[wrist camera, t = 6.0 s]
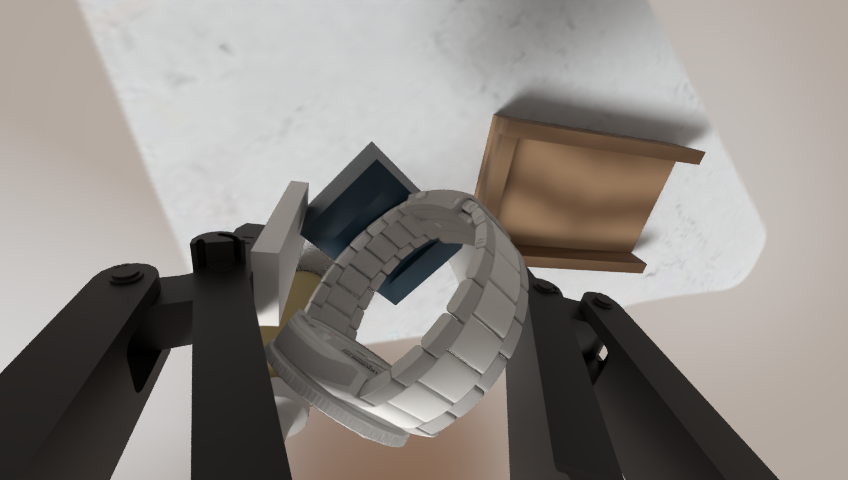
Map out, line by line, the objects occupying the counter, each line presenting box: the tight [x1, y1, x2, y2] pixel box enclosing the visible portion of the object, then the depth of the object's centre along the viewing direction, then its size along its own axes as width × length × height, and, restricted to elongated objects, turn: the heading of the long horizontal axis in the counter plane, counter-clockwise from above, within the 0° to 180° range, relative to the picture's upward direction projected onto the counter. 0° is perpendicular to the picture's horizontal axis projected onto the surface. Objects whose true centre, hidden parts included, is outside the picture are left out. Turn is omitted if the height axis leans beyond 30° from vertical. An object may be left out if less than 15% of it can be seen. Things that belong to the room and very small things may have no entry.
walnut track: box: [474, 115, 705, 273], centre depth 34 cm, size 13×20×4 cm
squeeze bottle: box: [259, 271, 325, 442], centre depth 28 cm, size 8×8×18 cm
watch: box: [264, 142, 529, 447], centre depth 12 cm, size 6×8×11 cm
